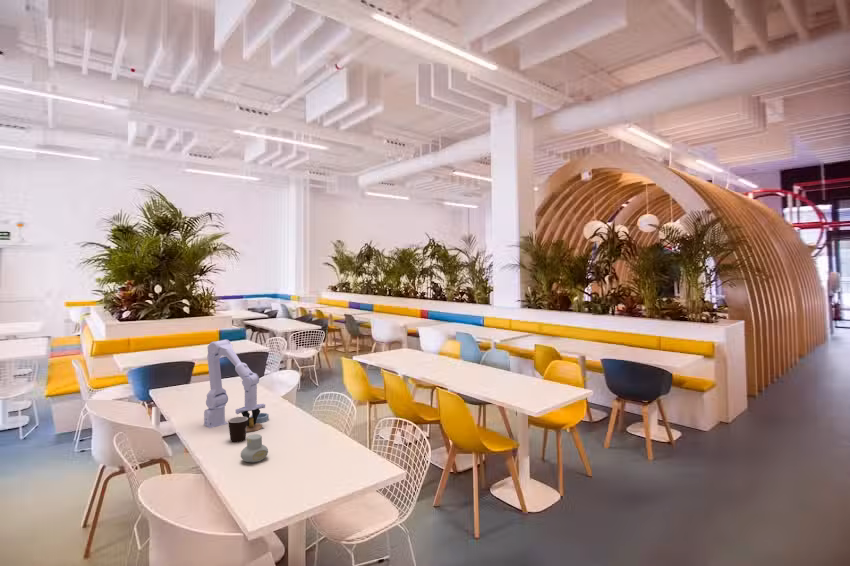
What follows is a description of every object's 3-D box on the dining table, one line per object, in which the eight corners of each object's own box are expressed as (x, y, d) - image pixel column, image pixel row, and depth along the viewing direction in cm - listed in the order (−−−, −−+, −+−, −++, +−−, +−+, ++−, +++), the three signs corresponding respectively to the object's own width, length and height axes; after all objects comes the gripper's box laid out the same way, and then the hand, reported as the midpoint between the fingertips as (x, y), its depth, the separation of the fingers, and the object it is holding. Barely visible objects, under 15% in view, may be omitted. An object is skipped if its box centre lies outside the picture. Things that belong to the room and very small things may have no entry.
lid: (244, 433, 216) (244, 423, 216) (235, 428, 224) (235, 417, 224) (266, 428, 224) (266, 418, 224) (256, 423, 231) (256, 413, 231)
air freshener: (261, 453, 194) (261, 430, 194) (271, 458, 189) (271, 435, 189) (237, 461, 186) (237, 437, 185) (247, 467, 180) (247, 442, 180)
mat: (245, 434, 217) (245, 433, 217) (236, 428, 224) (236, 428, 224) (264, 429, 224) (264, 428, 224) (256, 424, 231) (256, 423, 231)
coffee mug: (240, 444, 203) (240, 423, 203) (224, 443, 205) (224, 421, 205) (255, 435, 215) (255, 415, 214) (239, 434, 216) (239, 414, 216)
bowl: (254, 425, 229) (254, 419, 229) (247, 421, 236) (247, 415, 236) (271, 421, 236) (271, 415, 236) (263, 417, 242) (263, 411, 242)
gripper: (239, 402, 215) (239, 430, 216) (268, 397, 226) (267, 423, 226) (233, 399, 220) (233, 426, 221) (261, 394, 231) (261, 420, 231)
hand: (250, 424), depth 224 cm, fingers closed on lid, 3 cm apart
